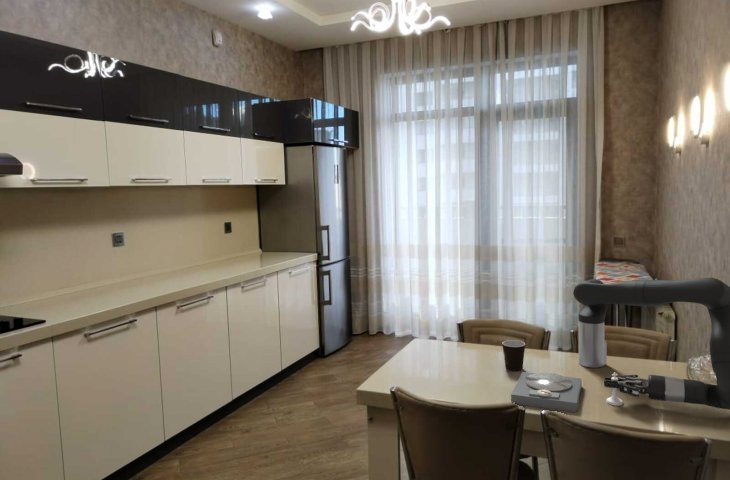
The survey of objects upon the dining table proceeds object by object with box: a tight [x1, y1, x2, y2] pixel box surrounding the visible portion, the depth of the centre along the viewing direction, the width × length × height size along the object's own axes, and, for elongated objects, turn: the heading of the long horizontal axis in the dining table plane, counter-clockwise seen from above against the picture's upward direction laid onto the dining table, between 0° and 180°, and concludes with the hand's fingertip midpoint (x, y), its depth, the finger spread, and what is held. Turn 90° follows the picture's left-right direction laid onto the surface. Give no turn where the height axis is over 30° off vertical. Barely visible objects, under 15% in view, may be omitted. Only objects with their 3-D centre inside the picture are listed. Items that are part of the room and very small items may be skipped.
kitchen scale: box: [510, 371, 583, 413], centre depth 174 cm, size 22×20×4 cm
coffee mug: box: [501, 339, 526, 372], centre depth 202 cm, size 12×9×10 cm
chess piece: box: [605, 372, 624, 407], centre depth 166 cm, size 5×5×10 cm
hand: (604, 381), depth 167 cm, fingers closed on chess piece
